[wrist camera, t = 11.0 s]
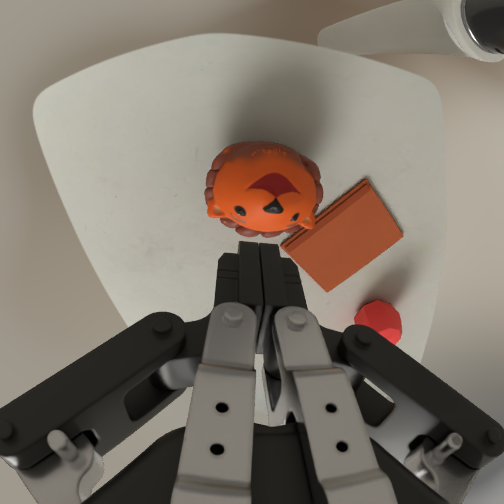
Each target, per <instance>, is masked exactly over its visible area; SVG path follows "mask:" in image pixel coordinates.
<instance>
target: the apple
mask: <svg viewBox="0 0 504 504" xmlns="http://www.w3.org/2000/svg"><path fill="white" fill-rule="evenodd" d="M354 321H355V324H360V325H365V326H368V327H370V328H372V329H374V330H375V331H377V332H378V333H379V334H381V335H382V336H383V337H385V338H386V339H387V340H389V341H390V342H391V343H393V344H394V345H395V344H396V343H397V342H398V341H399V340H400V338H401V335H402V325H401V319H400V315H399V313H398V312H397V310H396V309H395V308H394V307H393V306H392V305H391V304H390V303H387V302H383V301H380V300H376V301H374V302H371V303H369V304H366V305H364V306H362V308H361V309H360V310H359V312H358V313H357V314H356V316H355V317H354Z"/></svg>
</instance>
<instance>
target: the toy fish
mask: <svg viewBox="0 0 504 504" xmlns="http://www.w3.org/2000/svg"><path fill="white" fill-rule="evenodd" d="M320 178H321V176H320V171H319V168H318V167H317V165H316V164H315V163H314V162H313V161H311V160H310V159H308V158H307V157H305V156H302V155H301V154H299V153H298V152H296V151H295V150H293V149H291V148H289V147H287V146H285V145H281V144H278V143H272V142H241V143H237V144H233V145H230V146H228V147H226V148H225V149H224V150H223V151H222V152H221V153H220V154H218V156H217V157H216V158H215V159H214V161H213V163H212V169H210V170H209V172H208V174H207V178H206V186H207V188H206V189H205V192H204V194H205V200H206V204H207V206H208V210H207V213H208V216H209V217H211V218H220V221H221V223H222V224H224V225H225V226H227V227H229V228H236V229H235V231H236V232H237V233H239V234H240V235H242V236H246V237H254V236H257V235H258V234H261V235H262V236H263V237H265V238H269V237H275V236H278V235H280V234H281V233H282V232H284V231H285V232H286V233H294V232H296V231H298V230H299V229H300V227H301V226H302V227H304V228H306V229H313V228H314V226H315V215H314V214H315V213H316V211H317V210H318V206H319V204H320V203H321V201H322V198H323V188H322V185H321V184H320V181H319V180H320Z"/></svg>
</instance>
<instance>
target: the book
mask: <svg viewBox="0 0 504 504" xmlns="http://www.w3.org/2000/svg"><path fill="white" fill-rule="evenodd" d="M402 237H403V234H402V233H401V231H400V230H399V228H398V226H397V225H396V223H395V222H394V220H393V218H392V217H391V215H390V214H389V212H388V211H387V209H386V208H385V206H384V205H383V203H382V202H381V200H380V199H379V197H378V196H377V194H376V193H375V191H374V190H373V188H372V187H371V186H370V184H369V183H368V181H367V180H366V179H364V180H363V181H361V182H360V183H359V184H358V185H356V186H355V187H354V188H353V189H351V190H350V191H349V192H348V193H346V194H345V195H344V196H342V197H341V198H340V199H339V200H337V201H336V202H335V203H334V204H332V205H331V206H330V207H328V208H327V209H326V210H325V211H323V212H322V213H321V214H320V215H318V216H317V217H316V218H315V226H314V228H313V229H306V228H304V227H303V228H302V229H300V230H299V231H298V232H296V233H295V234H294V235H293V236H291V237H290V238H289V239H287V240H286V241H285V242H284V243H282V244H281V245H280V246H281V248H283V249H284V250H285V251H286V252H287V253H288V254H289V255H290V256H291V257H292V258H293V259H294V260H295V261H296V262H297V263H298V264H299V265H300V266H301V267H302V268H303V269H304V270H305V271H306V272H307V273H308V274H309V275H310V276H311V277H312V278H313V279H314V280H315V281H316V282H317V283H318V284H319V285H320V286H321V287H322V288H323V289H324V290H325V291H326V292H329V291H330V290H332V289H333V288H335V287H336V286H337V285H339V284H340V283H342V282H343V281H344V280H346V279H347V278H349V277H350V276H351V275H353V274H354V273H356V272H357V271H358V270H360V269H361V268H362V267H364V266H365V265H366V264H368V263H369V262H370V261H372V260H373V259H375V258H376V257H377V256H379V255H380V254H381V253H382V252H384V251H385V250H386V249H388V248H389V247H390V246H392V245H393V244H394V243H396V242H397V241H398V240H399V239H401V238H402Z"/></svg>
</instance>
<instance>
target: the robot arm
mask: <svg viewBox="0 0 504 504" xmlns="http://www.w3.org/2000/svg"><path fill="white" fill-rule="evenodd" d="M461 18H462V21H463V25H464V27H465V29H466V32H467V33H468V35H469V37H470V38H471V40H472V41H473V42H474V43H475V44H476V45H477V46H478V47H479V48H480V49H481V50H483V51H485V52H487V53H492V54H501V55H503V54H504V0H462V1H461ZM255 353H256V354H263V357H264V363H263V367H262V379H263V385H264V392H265V398H266V404H267V411H268V420H269V422H268V426H266V425H261V424H257V423H254V407H255V386H256V369H254V359H255ZM365 378H367V379H368V380H369V381H371V382H372V383H373V384H375V385H376V386H377V387H378V388H380V389H381V390H382V391H383V392H385V393H386V394H387V395H388V396H390V397H391V398H392V399H393V401H394V403H392V402H390V401H388V400H387V399H386V398H385V397H383V396H382V395H381V394H380V393H378V392H377V391H376V390H375V389H373V388H372V387H371V386H370V385H368V384H367V383H366V382H365V381H364V379H365ZM192 386H194V387H193V392H192V397H191V403H190V408H189V413H188V418H187V423H186V426H185V427H181V428H178V429H175V430H172V431H171V432H169V433H166V434H165V435H164V436H162V437H160V438H159V439H157V440H156V441H155V442H154V443H153V444H152V445H150V446H149V447H148V448H147V449H146V450H145V451H144V452H142V453H141V454H140V455H139V456H138V457H137V458H135V459H134V460H133V461H132V462H131V463H130V464H128V465H127V466H126V467H125V468H124V469H123V470H121V471H120V472H119V473H118V474H117V475H115V476H114V477H113V478H112V479H111V480H109V481H108V482H107V483H106V484H104V485H103V486H102V487H101V488H100V489H98V490H97V491H96V492H95V493H93V494H92V495H91V492H92V489H93V487H94V486H95V484H96V483H97V482H98V481H99V480H100V479H101V477H102V476H103V473H104V462H103V459H102V456H103V455H105V454H106V453H107V452H109V451H110V450H112V449H113V448H114V447H116V446H117V445H118V444H120V443H121V442H122V441H124V440H125V439H126V438H127V437H129V436H130V435H131V434H133V433H134V432H135V431H136V430H138V429H139V428H140V427H142V426H143V425H144V424H145V423H147V422H148V421H149V420H150V419H152V418H153V417H154V416H155V415H157V414H158V413H159V412H160V411H161V410H163V409H164V408H165V407H166V406H168V405H169V404H170V403H171V402H173V401H174V400H175V399H176V398H177V397H179V396H180V395H181V394H182V393H183V392H184V391H185V390H186V388H187V387H192ZM503 452H504V429H503V428H502V426H501V425H500V424H499V423H498V422H496V421H495V420H494V419H492V418H491V417H490V416H489V415H487V414H486V413H485V412H483V411H482V410H481V409H479V408H478V407H477V406H475V405H474V404H473V403H471V402H470V401H469V400H467V399H466V398H465V397H463V396H462V395H461V394H459V393H458V392H457V391H456V390H454V389H453V388H452V387H450V386H449V385H448V384H446V383H445V382H443V381H442V380H441V379H440V378H438V377H437V376H436V375H434V374H433V373H431V372H430V371H429V370H428V369H426V368H425V367H424V366H422V365H421V364H420V363H418V362H417V361H416V360H414V359H413V358H412V357H410V356H409V355H408V354H406V353H405V352H403V351H402V350H401V349H399V348H398V347H397V346H395V345H394V344H393V343H391V342H390V341H389V340H387V339H386V338H385V337H383V336H382V335H381V334H379V333H378V332H377V331H375V330H374V329H372V328H370V327H368V326H365V325H360V324H355V325H351V326H349V327H347V328H346V329H345V330H344V332H343V333H341V332H338V331H334V330H331V329H327V328H325V327H323V326H321V325H319V323H318V320H317V318H316V317H315V316H314V315H313V314H312V313H311V312H310V311H308V308H307V304H306V300H305V296H304V291H303V287H302V285H301V279H300V275H299V271H298V267H297V265H296V264H295V263H294V262H293V261H292V260H291V258H282V257H280V251H279V246H278V244H268V243H259V245H258V243H256V242H245V241H239V245H238V253H237V254H235V253H224V254H223V255H222V256H221V257H220V259H219V260H218V269H217V279H216V290H215V300H214V308H213V310H212V311H211V313H210V314H209V315H208V316H206V317H204V318H202V319H200V320H197V321H192V322H185V323H184V321H183V320H182V319H181V318H180V317H179V316H177V315H175V314H173V313H170V312H156V313H152V314H150V315H148V316H146V317H144V318H143V319H141V320H140V321H138V322H136V323H135V324H133V325H132V326H130V327H129V328H127V329H125V330H124V331H122V332H121V333H119V334H117V335H116V336H115V337H113V338H111V339H109V340H108V341H106V342H105V343H103V344H102V345H100V346H98V347H97V348H95V349H94V350H92V351H91V352H89V353H87V354H86V355H84V356H83V357H81V358H79V359H78V360H76V361H75V362H73V363H72V364H70V365H68V366H67V367H65V368H64V369H62V370H60V371H59V372H57V373H56V374H54V375H53V376H51V377H49V378H48V379H46V380H45V381H43V382H41V383H40V384H38V385H37V386H36V387H34V388H32V389H31V390H29V391H27V392H26V393H24V394H23V395H21V396H19V397H18V398H16V399H15V400H13V401H11V402H10V403H9V404H7V405H5V406H4V407H2V408H0V457H1V458H2V459H3V460H4V461H5V462H6V463H7V464H8V465H9V466H10V467H12V468H13V469H14V470H16V472H17V473H18V475H19V477H20V478H21V480H22V481H23V483H24V484H25V486H26V487H27V489H28V490H29V492H30V493H31V495H32V496H33V498H34V499H35V500H36V502H37V503H38V504H462V502H463V501H464V499H465V497H466V495H467V493H468V491H469V490H470V488H471V486H472V484H473V482H474V480H475V478H476V476H477V474H478V472H479V470H480V469H481V468H482V467H484V466H485V465H487V464H488V463H490V462H491V461H492V460H494V459H495V458H497V457H498V456H499V455H501V454H502V453H503ZM399 461H400V462H401V463H400V462H399ZM403 464H404V465H403Z"/></svg>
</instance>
